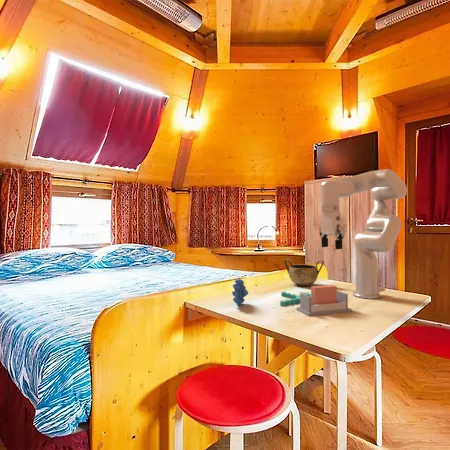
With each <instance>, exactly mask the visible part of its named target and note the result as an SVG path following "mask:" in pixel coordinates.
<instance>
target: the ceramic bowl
mask: <svg viewBox="0 0 450 450" xmlns="http://www.w3.org/2000/svg"><path fill="white" fill-rule="evenodd" d="M287 262H288V263H289V266H288V263H287ZM320 262H321V264H320V267H319V269H318V265H319V263H320ZM283 263H284V266H285V267H286V270H287V273H288V276H289V279H290V280H291V282H292V283H294V284H295V285H296V286H301V287H309V286H312V285H313V284H314V283H315V282H317V279H318V276H319V274H320V272H321V270H322V268H323V267H324V263H325V262H324V259H318V261H317V262H316V263H315V265H313V264H302V263H300V264H298V263H296V264H293V262H292V260H291V259H290V258H285V259H284V260H283Z"/></svg>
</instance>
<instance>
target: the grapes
mask: <svg viewBox="0 0 450 450" xmlns="http://www.w3.org/2000/svg"><path fill="white" fill-rule="evenodd" d="M244 284H245V282H244V281H243V280H242V279H240V278H236V279H235V281H234V283H233V284H232V288H233V290H232V291H231V294H232V297H233V298H232V300H233V302H234V303H235V304H236V305H237V306H238V307H239V306H241V305H242V304H244V302H245V297H246V296H248V295H249V290H248V289H246V285H244Z"/></svg>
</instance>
